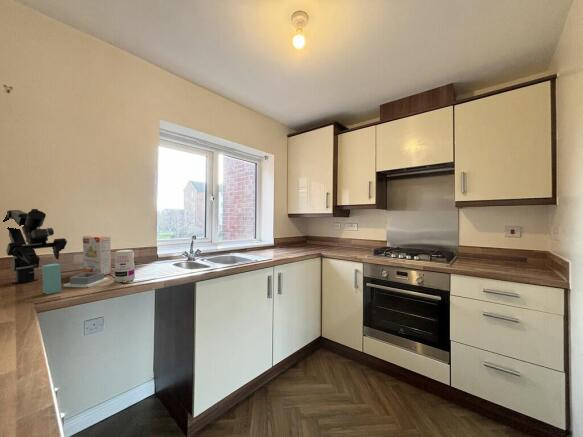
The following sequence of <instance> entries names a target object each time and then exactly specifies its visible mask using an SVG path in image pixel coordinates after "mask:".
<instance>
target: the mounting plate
mask: <svg viewBox="0 0 583 437" xmlns="http://www.w3.org/2000/svg"><path fill="white" fill-rule="evenodd" d="M109 280H110V277H105V275H104V273H91V272H86V273H84V272H82V273H80V274H76V275H73V276H70V277H69V282H67V283H64V284H63V287H64V288H87V287H89V288H90V287H94V286H96V285H99V284H103V283H105V282H107V281H109Z"/></svg>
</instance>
